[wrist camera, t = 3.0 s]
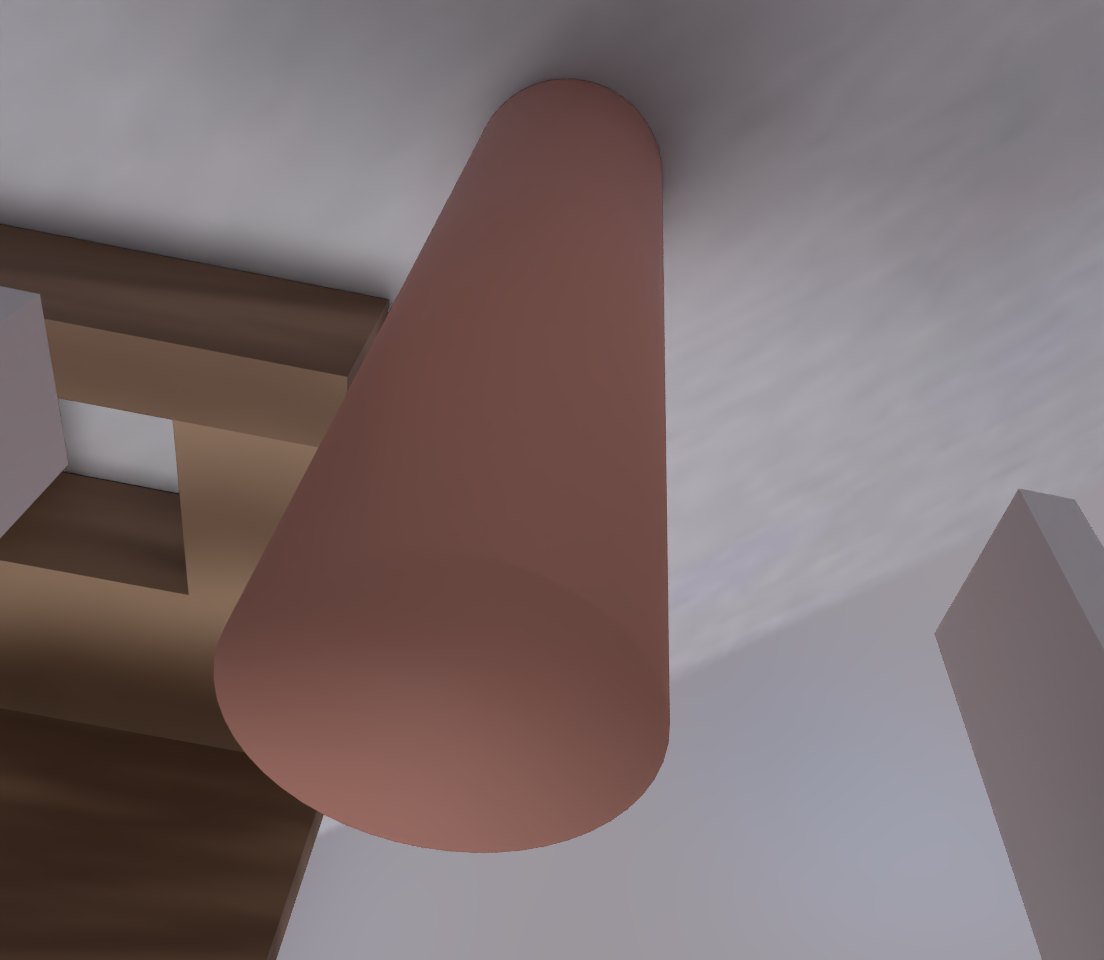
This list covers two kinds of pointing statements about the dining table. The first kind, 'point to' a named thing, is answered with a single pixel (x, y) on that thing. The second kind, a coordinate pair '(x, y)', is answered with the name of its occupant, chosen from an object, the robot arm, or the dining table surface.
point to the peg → (485, 516)
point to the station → (155, 608)
